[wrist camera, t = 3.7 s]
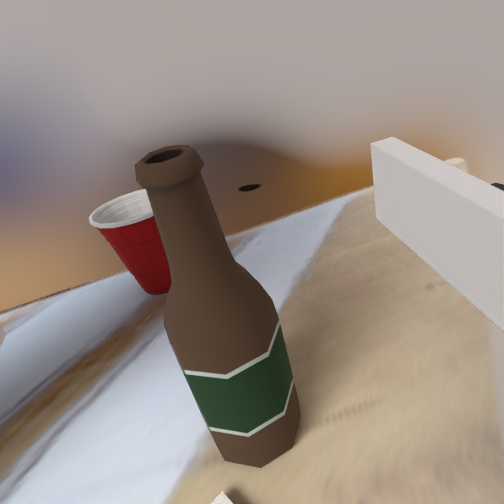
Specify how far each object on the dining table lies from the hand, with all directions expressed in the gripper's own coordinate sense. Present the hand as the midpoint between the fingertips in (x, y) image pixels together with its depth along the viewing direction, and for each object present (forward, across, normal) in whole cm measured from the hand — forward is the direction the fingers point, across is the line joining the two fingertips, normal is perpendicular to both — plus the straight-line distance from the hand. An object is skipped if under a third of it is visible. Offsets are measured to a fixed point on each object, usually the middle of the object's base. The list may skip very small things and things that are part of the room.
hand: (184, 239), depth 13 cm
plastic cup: (+37, -8, -24) cm, 44 cm away
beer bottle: (+11, 0, -24) cm, 27 cm away
